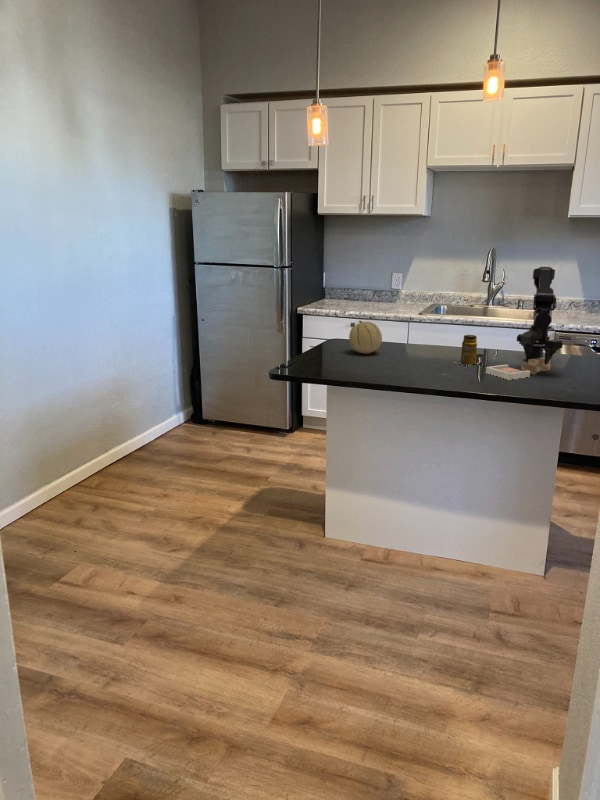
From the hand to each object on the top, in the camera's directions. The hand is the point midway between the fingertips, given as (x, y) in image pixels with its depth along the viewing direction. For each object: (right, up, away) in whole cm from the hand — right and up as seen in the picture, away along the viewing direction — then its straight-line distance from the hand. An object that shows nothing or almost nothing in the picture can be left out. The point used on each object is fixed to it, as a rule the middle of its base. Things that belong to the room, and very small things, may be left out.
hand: (536, 362), depth 245 cm
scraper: (+1, -3, +2) cm, 4 cm away
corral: (-13, -5, -5) cm, 15 cm away
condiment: (-25, 0, +14) cm, 28 cm away
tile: (-13, -6, -5) cm, 15 cm away
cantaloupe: (-66, +6, +33) cm, 74 cm away
